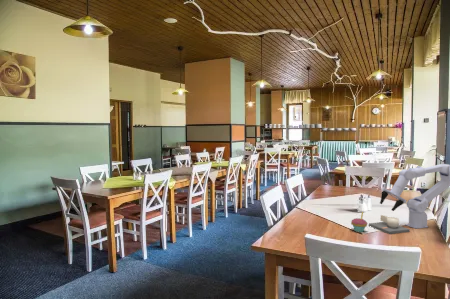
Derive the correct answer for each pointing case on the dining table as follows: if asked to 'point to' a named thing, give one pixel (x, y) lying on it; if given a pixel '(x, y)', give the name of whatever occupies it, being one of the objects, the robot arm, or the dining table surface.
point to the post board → (389, 228)
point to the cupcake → (359, 224)
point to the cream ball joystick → (390, 220)
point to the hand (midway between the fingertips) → (386, 207)
